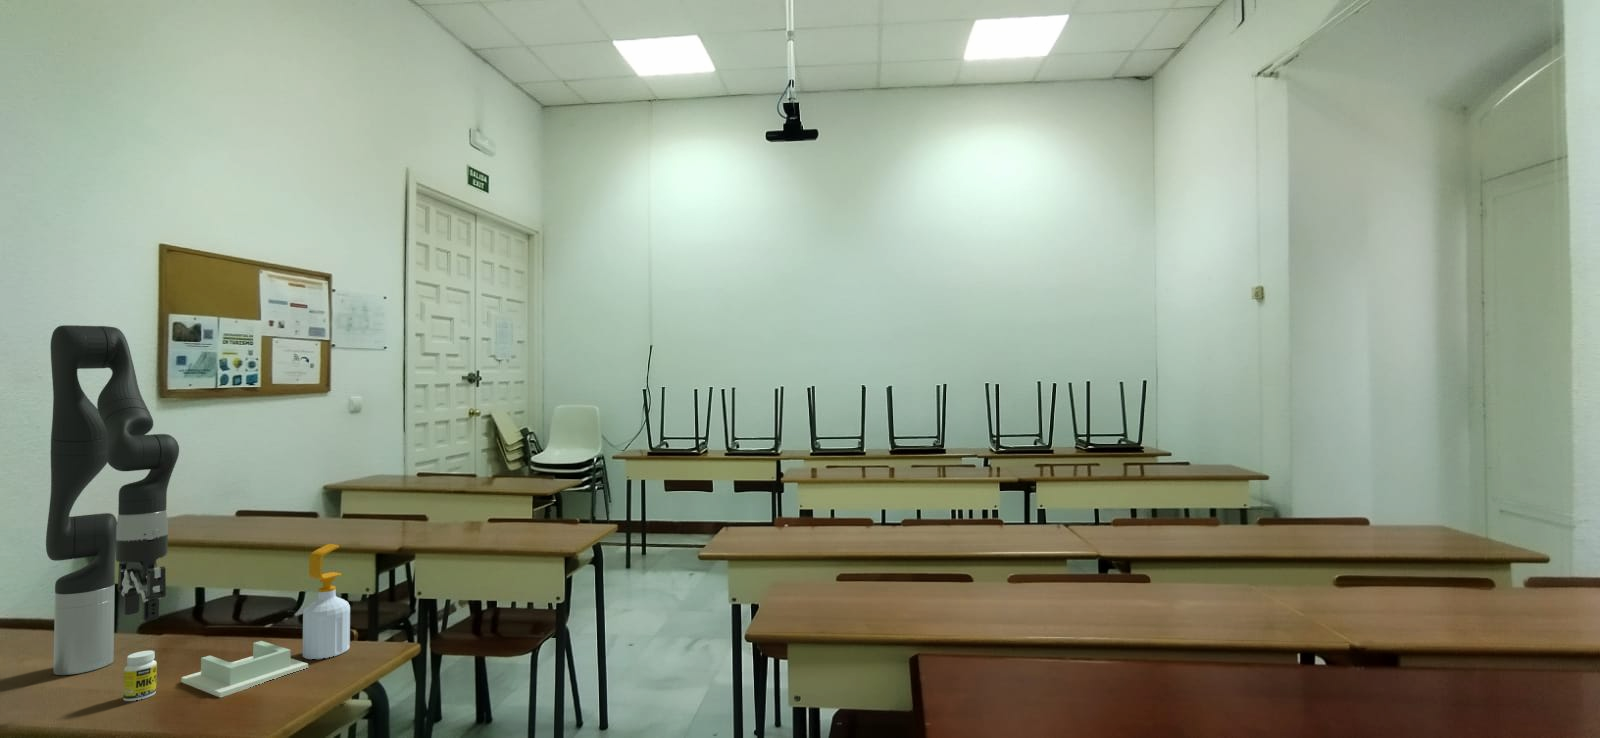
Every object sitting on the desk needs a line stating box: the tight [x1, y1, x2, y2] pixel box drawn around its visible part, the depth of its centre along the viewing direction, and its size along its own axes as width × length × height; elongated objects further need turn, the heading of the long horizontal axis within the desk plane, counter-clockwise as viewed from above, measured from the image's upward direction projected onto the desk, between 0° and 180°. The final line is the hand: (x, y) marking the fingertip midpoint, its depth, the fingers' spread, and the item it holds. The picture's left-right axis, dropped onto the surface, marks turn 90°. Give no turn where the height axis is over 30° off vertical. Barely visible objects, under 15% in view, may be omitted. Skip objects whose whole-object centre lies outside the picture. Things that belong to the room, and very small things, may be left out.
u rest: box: [180, 640, 309, 698], centre depth 149 cm, size 16×16×4 cm
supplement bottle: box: [122, 650, 158, 702], centre depth 139 cm, size 5×5×8 cm
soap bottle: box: [302, 543, 351, 660], centre depth 161 cm, size 9×9×25 cm
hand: (140, 616), depth 139 cm, fingers open, 8 cm apart
